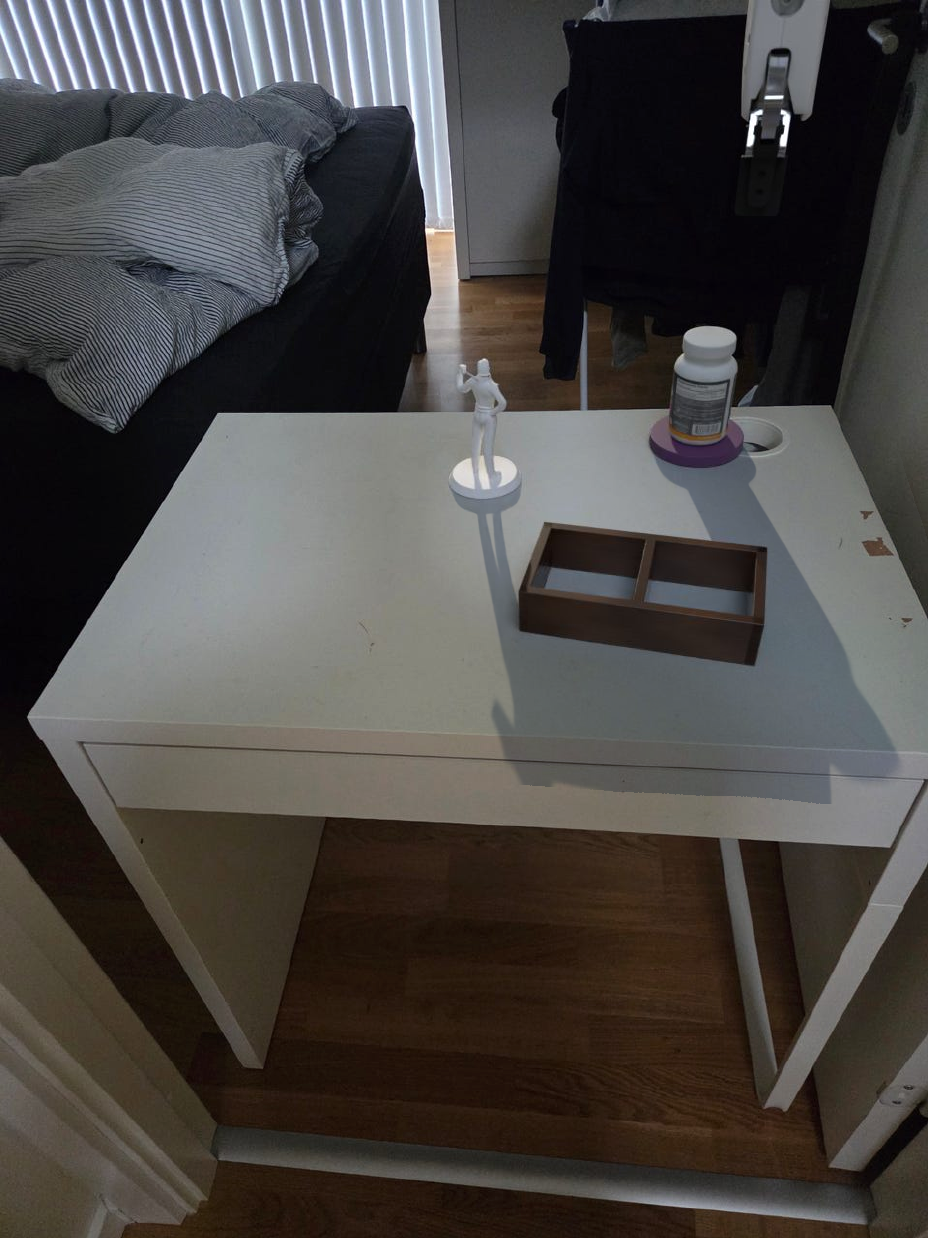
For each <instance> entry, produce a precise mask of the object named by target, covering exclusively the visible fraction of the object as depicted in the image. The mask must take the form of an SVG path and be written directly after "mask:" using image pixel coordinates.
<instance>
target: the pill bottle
mask: <svg viewBox="0 0 928 1238" xmlns="http://www.w3.org/2000/svg"><path fill="white" fill-rule="evenodd" d="M736 347H737V335H736V334H735V332H733V331H732V330H731V329H728V328H725V327H723V326H722V327H721V326H711V325H704V326H697V327H694V328H690V329H689V330H687V331H686V332H685V333H684V335H683V339H682V352H683V353H682V354H680V356H678V358H677V359H676V360H675V363H674V366H673V374H672V385H671V394H670V402H669V412H668V415H669V421H668V431H669V433H670V435H671V436H672V437H673V438H674V439H676V440H677V441H679V442H681V443H684V444H688V445H696V446H703V445H710V444H713V443H716V442H718V441H720V440H722V439H723V438H724V437H725V435H726V434H727V430H728V425H729V419H730V417H731V412H732V406H733V401H734V396H735V395H734V394H735V388H736V383H737V376H738V363H737V360H736V359H735V357H734V356H732V355H733V354H734V353H735V351H736ZM730 420H731V419H730Z"/></svg>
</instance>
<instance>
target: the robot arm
mask: <svg viewBox="0 0 928 1238" xmlns="http://www.w3.org/2000/svg"><path fill="white" fill-rule="evenodd" d="M830 3H831V0H748V6H747V13H746V14H747V16H746V24H745V35H744V44H743V45H744V46H743V56H742V57H743V58H742V73H741V75H742V76H741V114H740V115H741V117H742V119H744V120H745V121H746V122H749V124H746V126H745V132H744V133H745V134H744V142H743V148H742V155H741V157H740V164H739V172H738V180H737V186H736V195H735V201H734V210H733V211H734V214H735V216H737V217H775V216H777V215H778V214H779V212H780V209H781V208H780V206H781V200H782V196H783V188H784V183H785V177H786V170H787V164H788V160H789V159H788V158H789V155H788V154H786V152H787V147H788V146H787V145H788V138H789V131H790V125H791V124H790V123H791V118H792V114H793V113H794V115H800V121H806V120H808V119H809V118H810V117H811V115H812V114H813V108H814V100H815V94H816V88H817V82H818V75H819V70H820V64H821V58H822V53H823V45H824V40H825V35H826V29H827V24H828V23H827V22H828V16H829V11H830ZM792 110H793V111H792ZM792 112H793V113H792Z"/></svg>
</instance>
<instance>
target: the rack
mask: <svg viewBox="0 0 928 1238" xmlns="http://www.w3.org/2000/svg"><path fill="white" fill-rule="evenodd" d="M768 550H769V549H768V547H767V546H761V545H753V544H752V545H751V544H743V543H735V542H727V541H718V540H709V539H699V538H691V537H683V536H673V535H665V534H657V533H656V534H655V533H648V532H647V533H646V532H638V531H629V530H622V529H621V530H620V529H611V528H604V527H603V528H602V527H595V526H594V527H593V526H587V525H577V524H576V525H575V524H568V523H561V522H560V523H559V522H550V521H543V524H542V526H541V529H540V532H539V534H538V537H537V540H536V543H535V546H534V548H533V551H532V553H531V556H530V559H529V561H528V565H527V567H526V569H525V573H524V575H523V578H522V580H521V583H520V586H519V589H518V591H517V595H518V596H517V597H518V630H519V632H523V633H524V632H525V633H530V634H536V635H544V636H552V637H558V638H564V639H572V640H578V641H584V642H591V643H598V644H605V645H612V646H618V647H619V646H620V647H624V648H631V649H640V650H644V651H645V650H646V651H653V652H659V653H665V654H673V655H678V656H687V657H692V658H693V657H694V658H699V659H706V660H714V661H719V662H725V663H733V664H739V665H740V664H741V665H746V666H752V667H754V666H756V662H757V658H758V656H759V649H760V646H761V641H762V639H763V638H762V637H763V633H764V629H765V623H766V622H765V619H766V599H767V598H766V596H767V572H768V571H767V570H768V569H767V568H768ZM552 568H556V569H564V570H573V571H580V572H588V573H596V574H605V575H612V576H619V577H627V578H634V579H637V580H636V583H635V588H634V593H633V597H632V599H626V598H620V597H613V596H612V597H610V596H603V595H596V594H589V593H582V592H581V593H580V592H574V591H566V590H561V589H560V590H559V589H551V588H545V587H546V584H547V581H548V578H549V575H550V572H551V569H552ZM652 581H659V582H667V583H674V584H682V585H691V586H700V587H707V588H713V589H724V590H730V591H737V592H747V602H746V615H745V614H738V613H730V612H724V611H714V610H710V609H709V610H708V609H701V608H694V607H686V606H678V605H672V604H664V603H656V602H648V601H649V596H650V591H651V586H652Z"/></svg>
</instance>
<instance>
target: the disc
mask: <svg viewBox="0 0 928 1238" xmlns="http://www.w3.org/2000/svg"><path fill="white" fill-rule="evenodd" d="M668 421H669V414H667V415H664V416H663V417H660V418H659V419H658V420H655V422H654V423H653V424H652V426H651V427H650V429H649V437H648V438H649V440H648V443H649V448H650V450H651V451H652V452H653V453H654V454H655V455H656V456H657V457H659V458H660V459H662V460H664V461H665V462H668V463H671V464H672V465H673V464H674V465H678V466H681V467H687V468H713V467H717V466H723V465H724V464H727V463H730V462H732V461H734V460H735V459H736V458H737V457H738V456H739V455H740V454H741V452H742V450H743V446H744V441H745V434H744V430H743V429H742V428H741V426H740V425H739V424H737V423H736V422H735V421H733V420H732V419H729V425H728V430H727V434H726V435H725V437H724V438H723V439H722V440H720V441H718V442H716V443H713V444H710V445H703V446H696V445H688V444H684V443H681V442H679V441H677V440H676V439H674V438H673V437H672V436H671V435H670V433H669V431H668Z"/></svg>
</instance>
